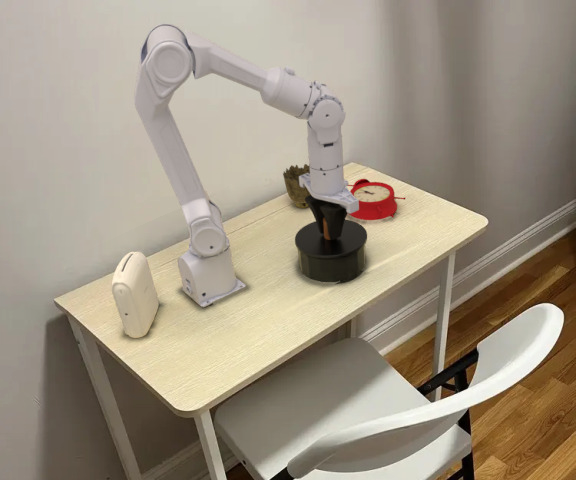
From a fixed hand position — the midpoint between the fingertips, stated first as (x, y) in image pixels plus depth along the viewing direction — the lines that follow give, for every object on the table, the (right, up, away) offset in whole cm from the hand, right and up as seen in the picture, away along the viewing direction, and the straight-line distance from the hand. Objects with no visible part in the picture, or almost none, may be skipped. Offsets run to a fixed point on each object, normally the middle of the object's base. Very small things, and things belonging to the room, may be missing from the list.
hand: (330, 234), depth 124 cm
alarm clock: (+9, +10, +20) cm, 24 cm away
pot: (+1, -5, +5) cm, 7 cm away
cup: (-4, +11, +23) cm, 26 cm away
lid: (0, -1, +1) cm, 1 cm away
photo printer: (-33, -16, -3) cm, 37 cm away
